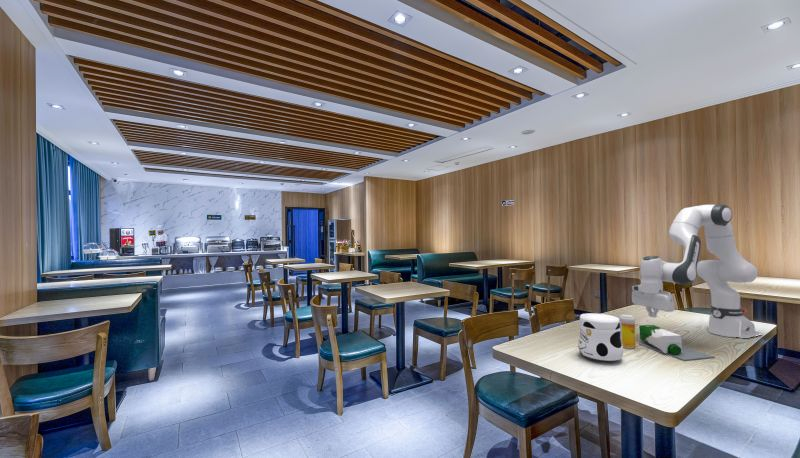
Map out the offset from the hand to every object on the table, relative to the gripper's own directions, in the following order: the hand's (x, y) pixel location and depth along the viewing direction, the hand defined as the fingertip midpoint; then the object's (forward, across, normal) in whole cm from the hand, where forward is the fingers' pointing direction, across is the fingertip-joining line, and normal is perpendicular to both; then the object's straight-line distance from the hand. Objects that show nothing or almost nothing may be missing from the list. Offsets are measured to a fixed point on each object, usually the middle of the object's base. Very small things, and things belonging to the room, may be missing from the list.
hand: (652, 316), depth 168 cm
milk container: (+13, -10, +39) cm, 42 cm away
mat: (+13, -11, 0) cm, 17 cm away
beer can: (+13, -1, +16) cm, 21 cm away
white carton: (+8, +2, +1) cm, 8 cm away
